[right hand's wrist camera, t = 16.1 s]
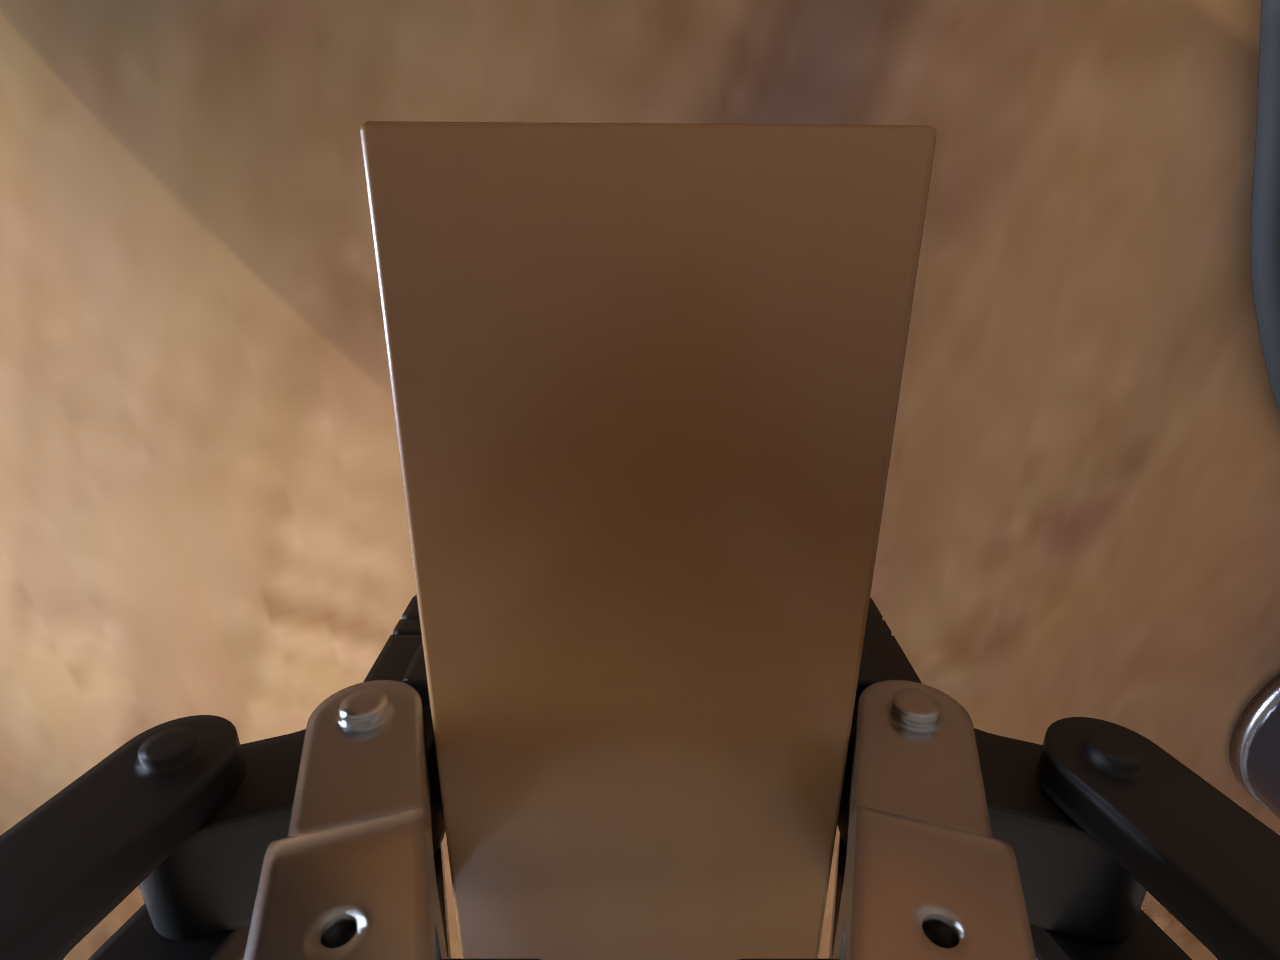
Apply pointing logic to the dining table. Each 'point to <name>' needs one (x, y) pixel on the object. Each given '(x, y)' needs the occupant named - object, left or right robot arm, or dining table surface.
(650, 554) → the beam
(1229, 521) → the dining table surface
